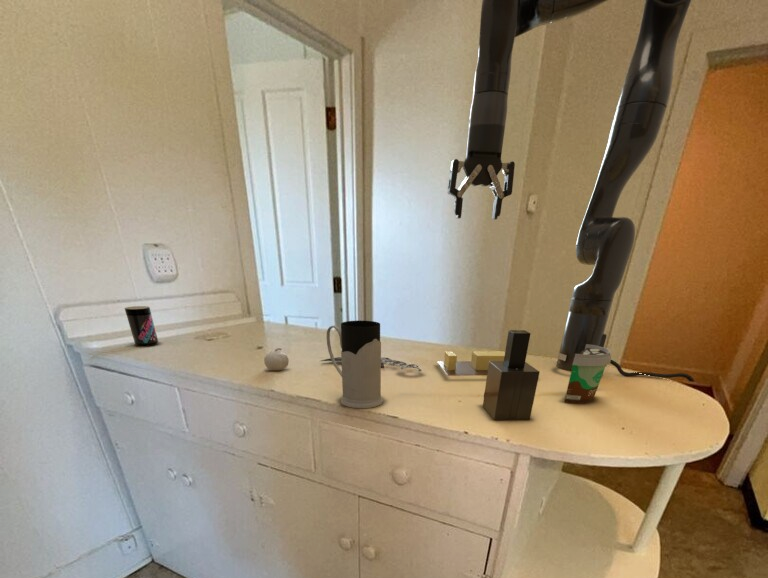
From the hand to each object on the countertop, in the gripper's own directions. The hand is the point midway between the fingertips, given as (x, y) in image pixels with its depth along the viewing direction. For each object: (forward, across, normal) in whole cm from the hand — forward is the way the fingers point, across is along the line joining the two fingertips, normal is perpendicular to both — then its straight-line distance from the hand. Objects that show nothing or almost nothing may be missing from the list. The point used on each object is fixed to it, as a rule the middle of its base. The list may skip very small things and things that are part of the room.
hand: (476, 218), depth 98 cm
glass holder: (+33, -30, -28) cm, 53 cm away
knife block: (+33, 0, -38) cm, 50 cm away
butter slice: (+32, -5, -8) cm, 33 cm away
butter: (+32, +6, -8) cm, 33 cm away
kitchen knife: (+33, 0, -38) cm, 50 cm away
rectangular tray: (+33, +4, -8) cm, 34 cm away
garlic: (+33, -49, -4) cm, 59 cm away
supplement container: (+33, -92, +28) cm, 102 cm away
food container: (+33, +20, -30) cm, 49 cm away
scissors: (+33, -24, -2) cm, 41 cm away
